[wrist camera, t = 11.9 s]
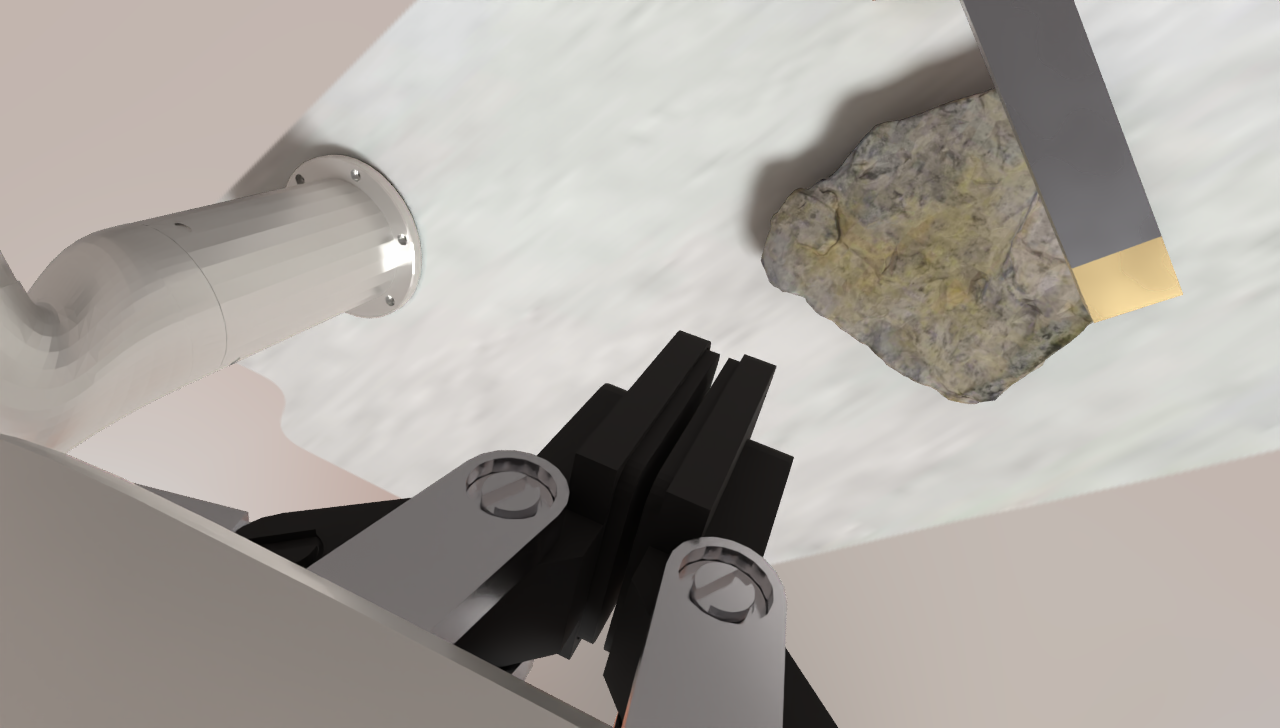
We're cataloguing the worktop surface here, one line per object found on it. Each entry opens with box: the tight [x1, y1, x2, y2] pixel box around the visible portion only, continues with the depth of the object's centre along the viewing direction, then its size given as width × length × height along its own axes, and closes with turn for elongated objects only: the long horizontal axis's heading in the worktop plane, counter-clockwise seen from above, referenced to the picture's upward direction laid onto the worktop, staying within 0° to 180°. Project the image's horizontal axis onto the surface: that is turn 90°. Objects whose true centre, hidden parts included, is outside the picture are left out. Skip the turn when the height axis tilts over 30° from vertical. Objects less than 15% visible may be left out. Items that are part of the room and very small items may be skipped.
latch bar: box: [960, 0, 1183, 323], centre depth 15 cm, size 13×3×2 cm, turn 31°
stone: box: [761, 88, 1093, 404], centre depth 36 cm, size 18×15×4 cm
